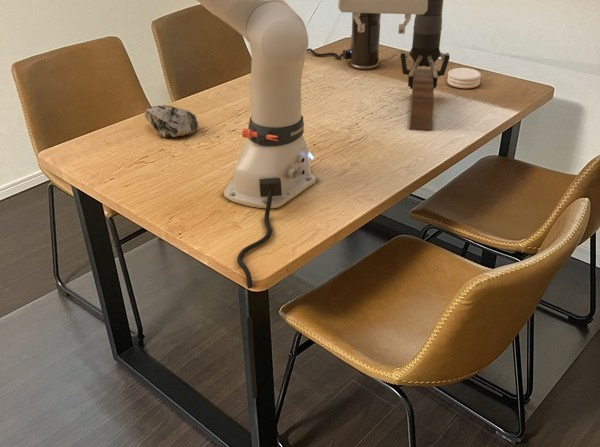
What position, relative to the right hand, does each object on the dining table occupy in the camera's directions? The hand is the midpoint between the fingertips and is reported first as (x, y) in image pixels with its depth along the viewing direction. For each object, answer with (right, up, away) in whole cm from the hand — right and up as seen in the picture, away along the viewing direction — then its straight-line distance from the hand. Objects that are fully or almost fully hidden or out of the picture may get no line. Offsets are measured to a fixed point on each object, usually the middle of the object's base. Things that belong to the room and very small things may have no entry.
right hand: (421, 88), depth 180 cm
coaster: (+15, +4, +13) cm, 21 cm away
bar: (-1, -8, -5) cm, 10 cm away
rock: (-70, -14, -13) cm, 73 cm away
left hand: (-17, +5, -36) cm, 40 cm away
